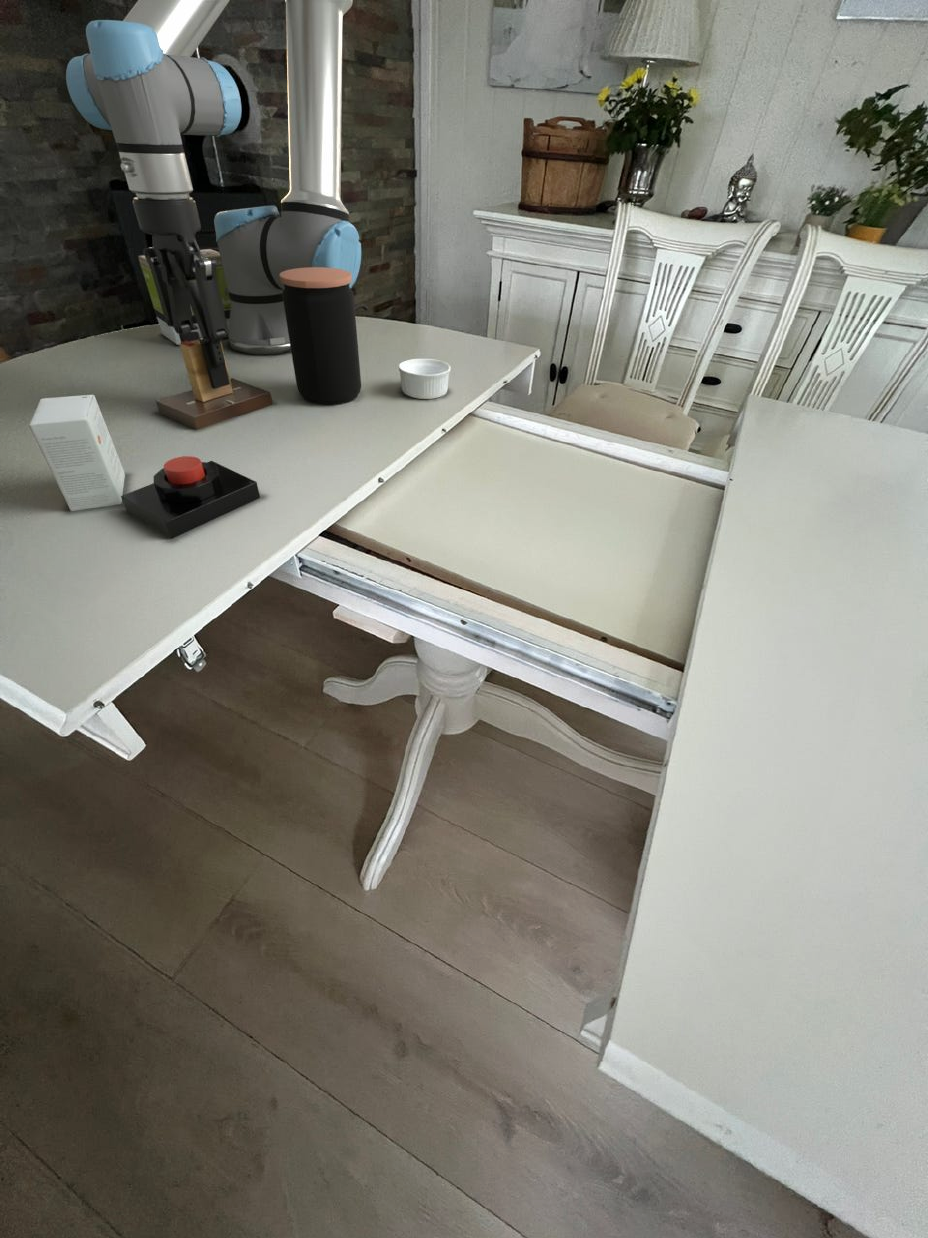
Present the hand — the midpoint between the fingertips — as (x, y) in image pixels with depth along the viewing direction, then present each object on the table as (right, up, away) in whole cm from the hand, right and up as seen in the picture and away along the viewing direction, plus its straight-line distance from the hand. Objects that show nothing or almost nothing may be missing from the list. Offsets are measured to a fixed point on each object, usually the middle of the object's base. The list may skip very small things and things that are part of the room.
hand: (210, 381), depth 88 cm
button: (+7, -21, -22) cm, 31 cm away
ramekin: (+33, +3, +12) cm, 35 cm away
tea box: (-16, +24, +33) cm, 44 cm away
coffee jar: (+17, +1, +9) cm, 19 cm away
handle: (0, -2, +1) cm, 2 cm away
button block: (+7, -23, -20) cm, 32 cm away
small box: (-5, -22, -18) cm, 29 cm away
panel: (0, -3, +3) cm, 4 cm away
